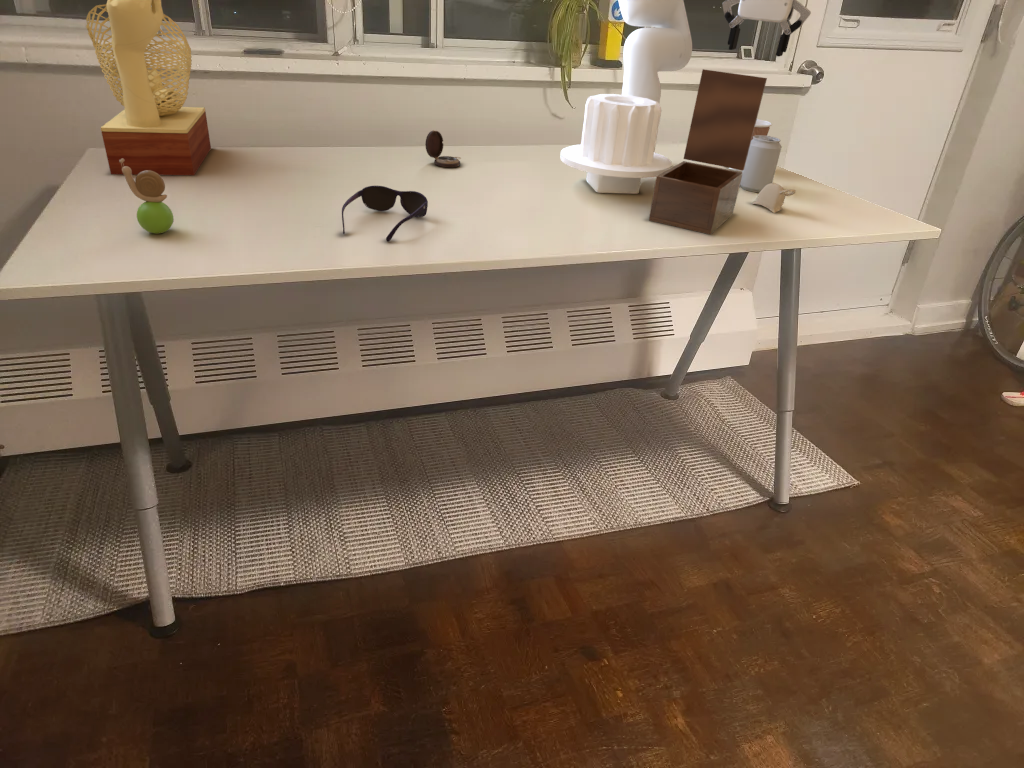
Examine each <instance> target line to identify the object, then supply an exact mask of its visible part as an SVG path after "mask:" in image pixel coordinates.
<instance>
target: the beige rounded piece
mask: <svg viewBox="0 0 1024 768" xmlns="http://www.w3.org/2000/svg"><path fill="white" fill-rule="evenodd" d="M794 194H796V190H795V189H792V188H789V189H784V187H783V186H782V185H781V184H779V183H775V182H772V183H770V184H768V185H766V186H765V187H764V188H763V189H762V190H761V191H760V192H758V195H757V197H756V200H754V201H753V202H752V205H760V206H763V207H764V208H766V209H768V210H769V211H770V212H772V213H774V214H775V213H777V212H779V211H781V210H783V208H782V206H783V204H784V203H785V199H786V197H789V196H793V195H794Z"/></svg>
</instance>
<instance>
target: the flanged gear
mask: <svg viewBox="0 0 1024 768" xmlns="http://www.w3.org/2000/svg"><path fill="white" fill-rule="evenodd" d="M661 116H662V107H661V104H660V103H658V102H657V101H653V100H650V99H648V98H642V97H637V96H632V95H631V96H630V95H622V94H620V93H619V94H617V93H598V94H595V95H589V96H588V97H587V99H586V101H585V107H584V117H583V123H582V124H583V125H582V133H581V140H580V144H573V145H569V146H566V147H564V148H562V149H561V150H560V154H559V155H560V157H559V159H560V161H561V162H562V163H563V164H565V165H566V166H568V167H571V168H572V169H576V170H578V171H582V172H585V173H586V179H585V181H586V182H587V184H588V185H589V186H590V187H591V188H592V189H593V191H595V193H598V194H630V195H631V194H632V195H633V194H634V195H636V194H639V192H640V188H641V181H642V179H643V178H645V179H647V178H656V177H657V176H658V175H660V174H662V173H663V172H665V171H667V170H669V169H670V168H672V167H673V162H672V160H671V159H670V158H669V157H667V156H665V155H663V154H661V153H659V152H655V150H656V145H657V140H658V133H659V128H660V121H661Z"/></svg>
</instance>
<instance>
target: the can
mask: <svg viewBox="0 0 1024 768" xmlns="http://www.w3.org/2000/svg"><path fill="white" fill-rule="evenodd" d="M780 142H781V139H780V138H778V137H775V136H770V135H767V136H764V135H755V136H753V139H752V140H751V144H750V148H749V151H748V155H747V159H746V163H745V167H744V170H742V172H743V174H742V178H741V182H740V187H741V188H742V189H743V190H744V191H747V192H751V193H760V191H761V190H762V189H763V188H764V187H765V186H766V185H768V184H770V183H774V178H775V175H776V171H777V166H778V162H779V159H780V154H781V152H782V144H781V143H780Z"/></svg>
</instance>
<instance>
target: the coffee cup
mask: <svg viewBox="0 0 1024 768" xmlns="http://www.w3.org/2000/svg"><path fill="white" fill-rule="evenodd" d="M772 126H773V124H772V122H770V121H768V120H766V119H761V118H757V120H756V124H755V128H754V132H753V136H755V135H764V136H768V134H769V131H770V127H772ZM753 136H752V139H753ZM728 170H732V171H738V172H742V170H738V169H733V168H728Z"/></svg>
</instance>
